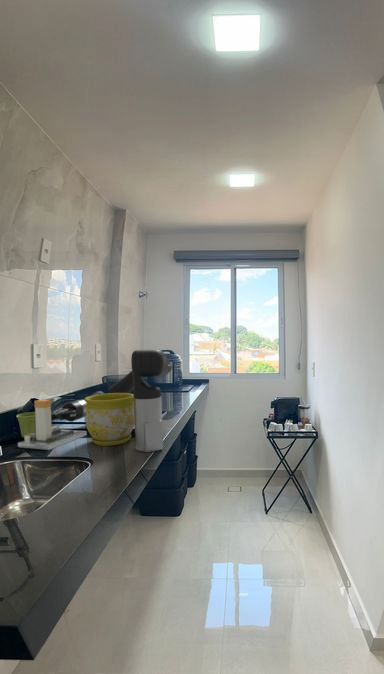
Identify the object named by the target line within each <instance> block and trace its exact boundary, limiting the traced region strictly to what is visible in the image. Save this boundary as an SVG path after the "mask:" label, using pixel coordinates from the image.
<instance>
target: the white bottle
mask: <svg viewBox="0 0 384 674" xmlns="http://www.w3.org/2000/svg"><path fill="white" fill-rule="evenodd" d="M51 408H52V402H51V399H37V400H34V410H35V411H34V412H35V417H36V440H42V441H46V439H48V438H51V437H52V429H51V427H52V421H51V410H52V409H51Z"/></svg>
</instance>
